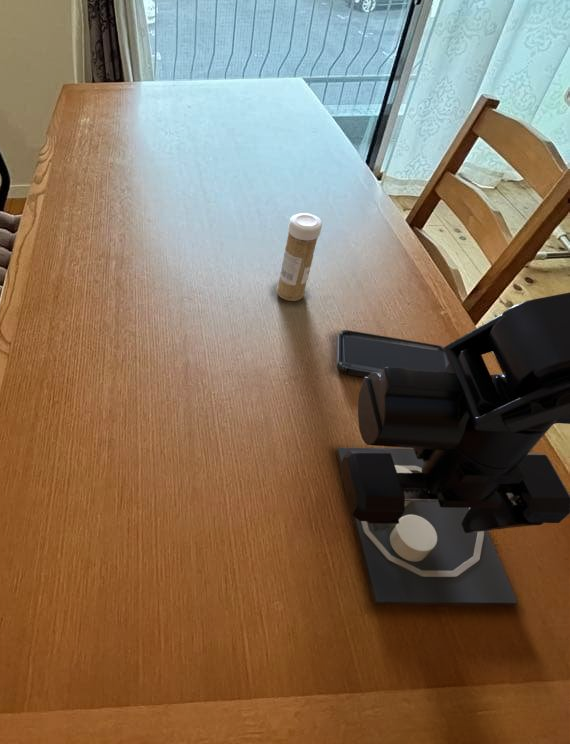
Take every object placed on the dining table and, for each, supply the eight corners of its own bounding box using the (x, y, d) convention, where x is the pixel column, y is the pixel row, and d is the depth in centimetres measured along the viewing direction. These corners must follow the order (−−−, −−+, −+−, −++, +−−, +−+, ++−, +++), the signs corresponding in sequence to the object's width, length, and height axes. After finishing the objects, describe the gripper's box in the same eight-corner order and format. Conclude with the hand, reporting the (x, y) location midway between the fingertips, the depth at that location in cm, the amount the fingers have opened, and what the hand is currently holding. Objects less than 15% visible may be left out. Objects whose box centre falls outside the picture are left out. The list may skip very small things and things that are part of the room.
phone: (339, 328, 81) (446, 346, 79) (337, 334, 82) (443, 352, 80) (338, 367, 76) (453, 387, 73) (336, 372, 76) (450, 393, 74)
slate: (449, 453, 68) (453, 448, 67) (513, 606, 55) (519, 602, 54) (335, 452, 68) (337, 447, 67) (373, 605, 55) (377, 601, 54)
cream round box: (421, 525, 60) (430, 514, 58) (434, 562, 57) (443, 551, 55) (385, 525, 60) (392, 514, 58) (395, 561, 57) (403, 551, 55)
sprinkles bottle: (309, 298, 88) (328, 226, 78) (284, 304, 86) (300, 232, 77) (295, 281, 91) (312, 209, 81) (270, 287, 89) (284, 214, 80)
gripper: (552, 366, 51) (479, 460, 62) (348, 363, 50) (313, 458, 62) (622, 473, 43) (524, 558, 54) (381, 470, 43) (334, 556, 54)
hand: (419, 527), depth 56 cm, fingers open, 9 cm apart
